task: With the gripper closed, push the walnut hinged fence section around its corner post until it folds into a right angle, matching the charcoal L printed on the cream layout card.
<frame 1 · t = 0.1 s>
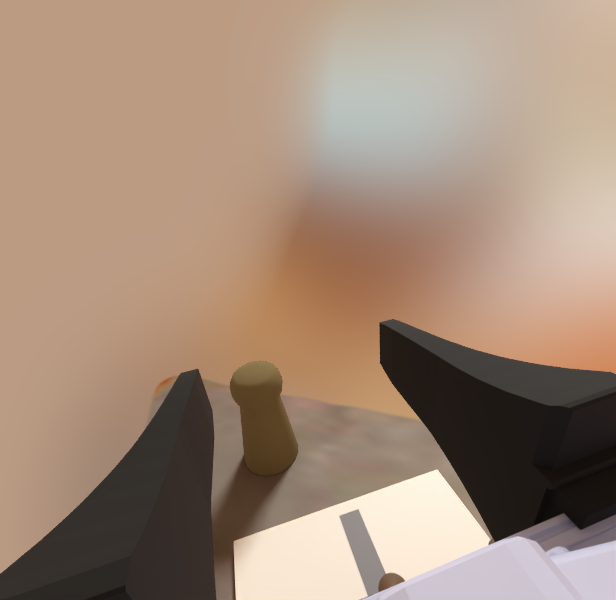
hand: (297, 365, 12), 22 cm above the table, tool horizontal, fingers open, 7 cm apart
cork: (271, 452, 35), on the table
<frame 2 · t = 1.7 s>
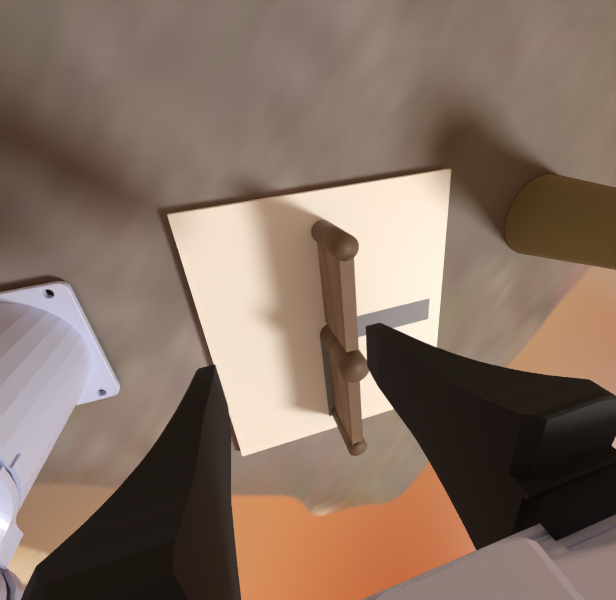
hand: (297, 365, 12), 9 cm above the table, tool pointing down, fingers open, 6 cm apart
cork: (535, 215, 25), on the table
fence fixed: (331, 333, 23), resting on layout card
fence gate: (336, 284, 19), point 3 cm above the table, hinge at 0.0°
layout card: (332, 326, 23), on the table
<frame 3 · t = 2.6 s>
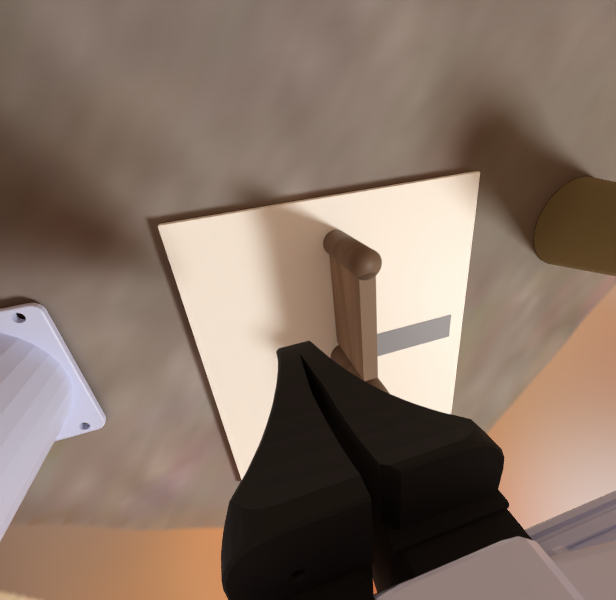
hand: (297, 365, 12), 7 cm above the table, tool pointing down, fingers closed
cork: (567, 222, 22), on the table
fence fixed: (343, 354, 21), resting on layout card
fence gate: (352, 304, 17), point 3 cm above the table, hinge at 0.0°
layout card: (344, 346, 21), on the table
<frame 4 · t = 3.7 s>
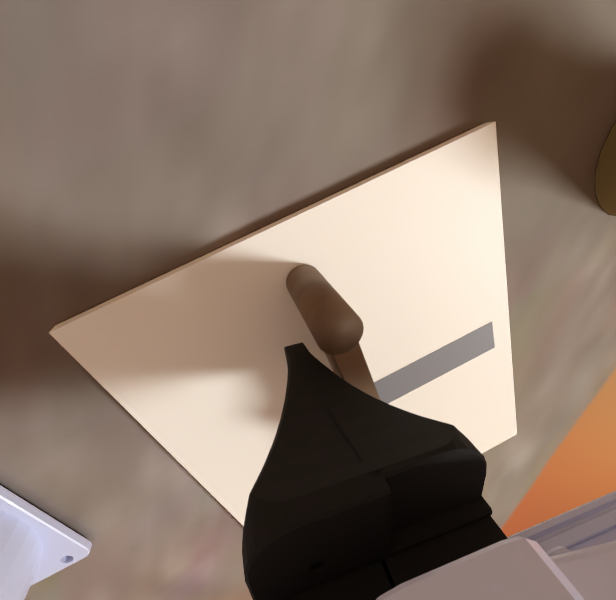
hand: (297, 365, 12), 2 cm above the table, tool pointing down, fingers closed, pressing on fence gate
fence gate: (344, 363, 12), point 3 cm above the table, hinge at 0.3°, touching gripper
layout card: (356, 393, 16), on the table
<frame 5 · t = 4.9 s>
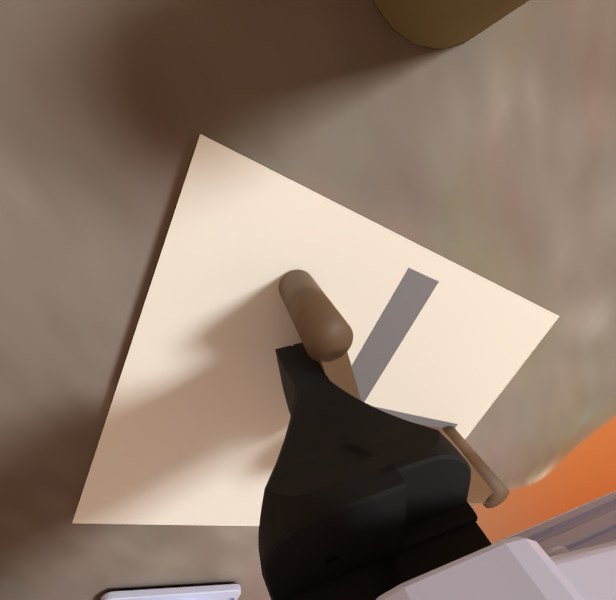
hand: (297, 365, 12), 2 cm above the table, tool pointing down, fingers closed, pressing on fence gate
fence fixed: (340, 414, 16), resting on layout card
fence gate: (330, 371, 12), point 3 cm above the table, hinge at 47.4°, touching gripper
layout card: (334, 403, 16), on the table
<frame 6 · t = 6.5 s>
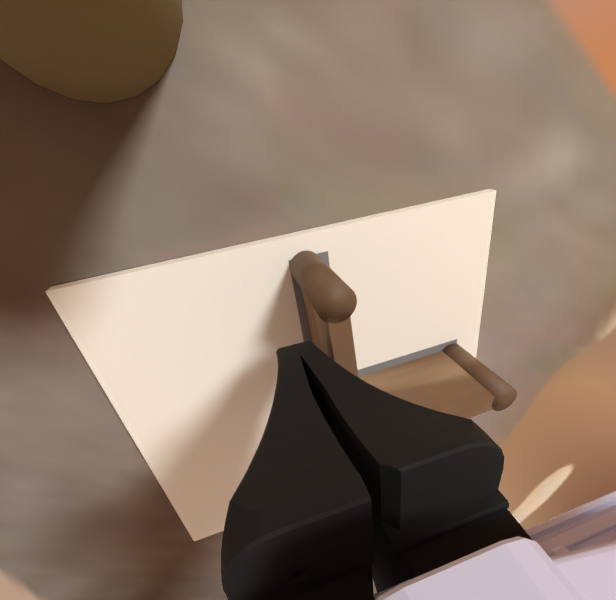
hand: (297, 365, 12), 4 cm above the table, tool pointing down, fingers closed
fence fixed: (329, 391, 17), resting on layout card
fence gate: (329, 342, 13), point 3 cm above the table, hinge at 88.4°
layout card: (321, 383, 18), on the table
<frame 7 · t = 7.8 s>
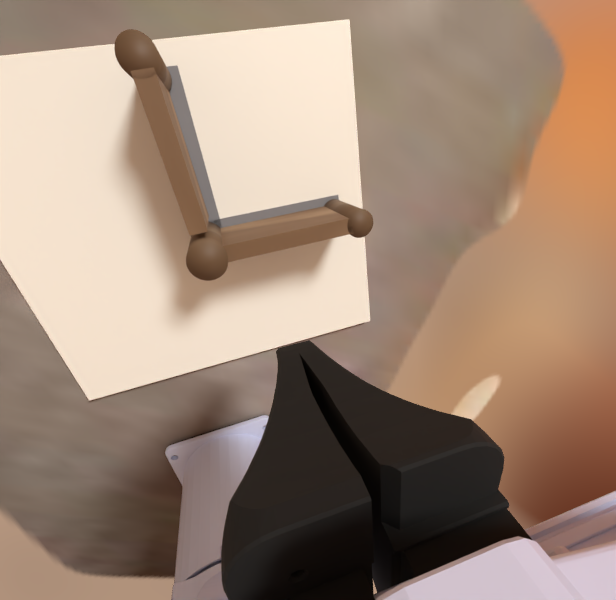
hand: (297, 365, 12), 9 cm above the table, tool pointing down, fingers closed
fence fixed: (208, 237, 18), resting on layout card
fence gate: (173, 146, 14), point 3 cm above the table, hinge at 88.4°
layout card: (202, 232, 18), on the table
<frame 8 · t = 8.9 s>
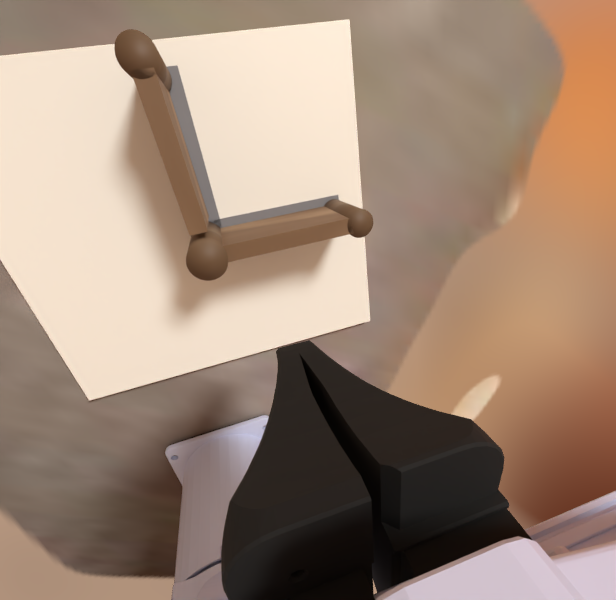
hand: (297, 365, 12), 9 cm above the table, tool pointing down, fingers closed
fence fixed: (208, 237, 18), resting on layout card
fence gate: (173, 146, 14), point 3 cm above the table, hinge at 88.4°
layout card: (202, 232, 18), on the table
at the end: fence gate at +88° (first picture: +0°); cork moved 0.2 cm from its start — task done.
